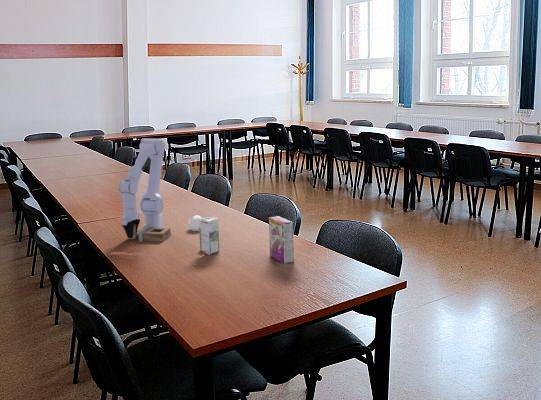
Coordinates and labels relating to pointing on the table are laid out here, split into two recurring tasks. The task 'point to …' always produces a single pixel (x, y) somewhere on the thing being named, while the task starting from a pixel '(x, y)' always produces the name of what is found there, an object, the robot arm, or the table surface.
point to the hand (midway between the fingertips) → (132, 236)
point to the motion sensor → (194, 223)
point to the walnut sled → (156, 234)
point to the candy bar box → (281, 239)
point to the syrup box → (209, 235)
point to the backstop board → (143, 232)
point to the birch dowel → (134, 233)
